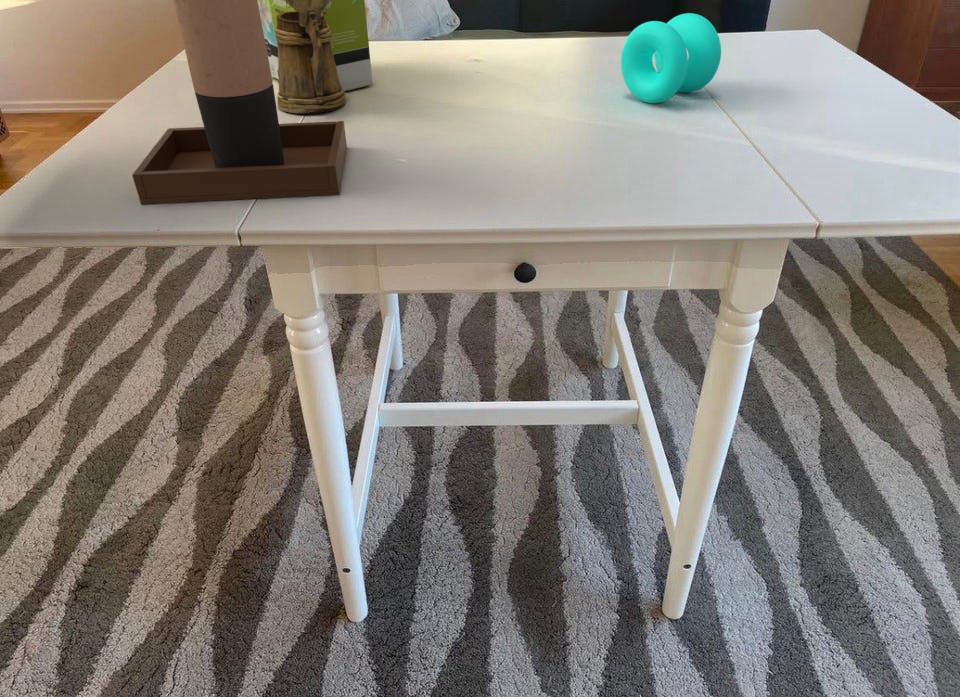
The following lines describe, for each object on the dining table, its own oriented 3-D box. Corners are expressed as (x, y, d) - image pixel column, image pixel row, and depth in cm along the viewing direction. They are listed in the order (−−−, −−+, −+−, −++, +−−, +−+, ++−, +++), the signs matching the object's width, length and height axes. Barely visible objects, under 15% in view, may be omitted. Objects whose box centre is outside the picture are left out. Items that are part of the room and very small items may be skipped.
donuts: (718, 97, 98) (732, 17, 92) (671, 113, 93) (683, 29, 87) (659, 82, 104) (669, 6, 99) (612, 95, 99) (620, 17, 93)
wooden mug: (296, 128, 89) (270, -35, 79) (271, 100, 99) (245, -48, 89) (365, 117, 93) (348, -41, 82) (334, 91, 103) (315, -53, 92)
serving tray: (140, 204, 72) (131, 174, 70) (175, 154, 83) (167, 128, 81) (339, 194, 73) (335, 165, 72) (347, 147, 84) (343, 120, 83)
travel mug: (218, 158, 80) (170, -45, 69) (288, 152, 82) (253, -49, 70) (210, 185, 74) (156, -33, 63) (286, 178, 75) (247, -37, 64)
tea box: (264, 77, 109) (245, -33, 100) (324, 66, 114) (310, -40, 105) (313, 99, 99) (295, -21, 91) (375, 85, 104) (364, -30, 96)
